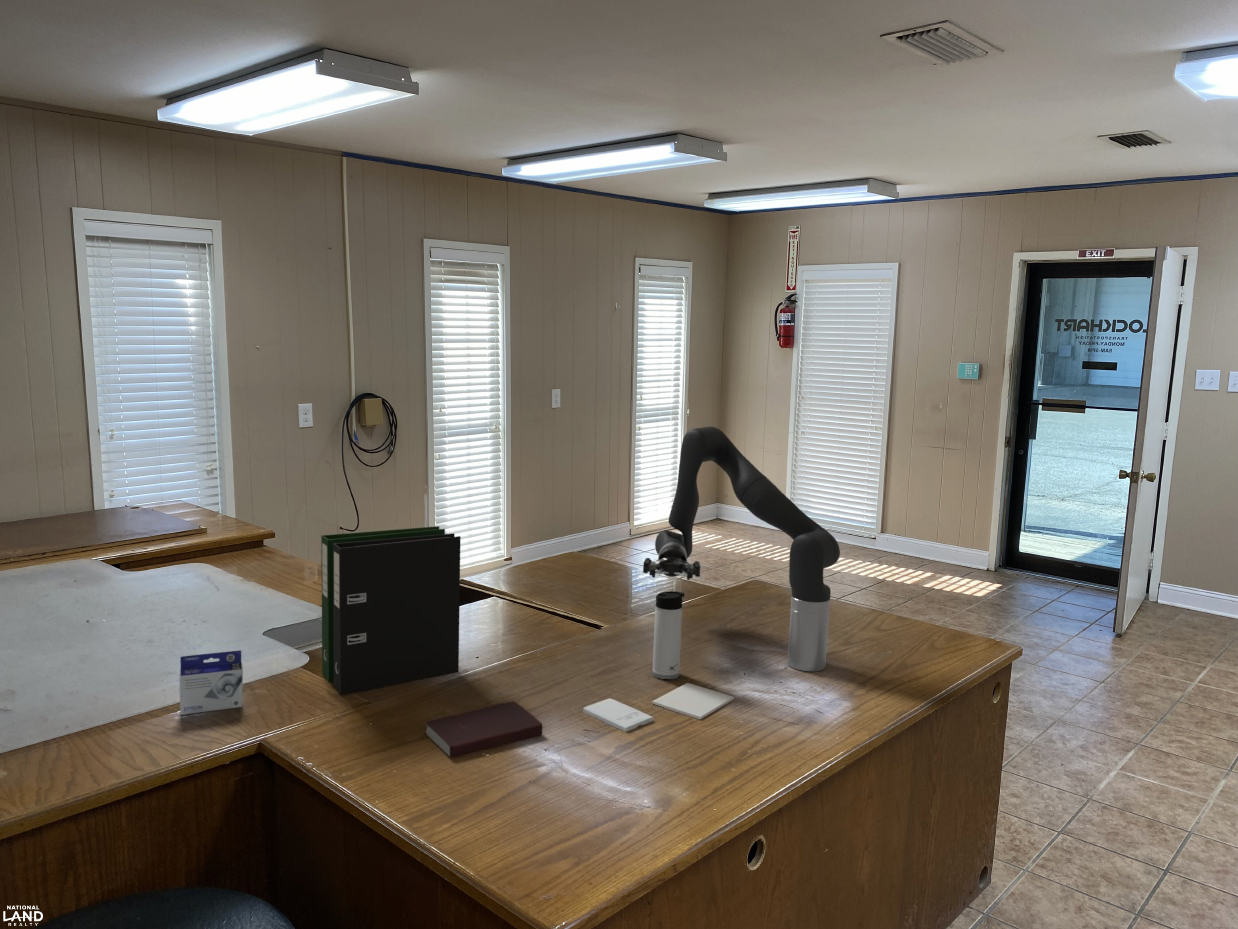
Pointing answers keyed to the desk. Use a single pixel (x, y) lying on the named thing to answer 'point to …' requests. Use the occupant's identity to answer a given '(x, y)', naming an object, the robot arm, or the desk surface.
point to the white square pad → (693, 700)
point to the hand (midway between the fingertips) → (671, 574)
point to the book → (483, 729)
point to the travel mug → (667, 635)
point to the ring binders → (389, 607)
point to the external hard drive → (617, 714)
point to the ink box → (211, 682)
